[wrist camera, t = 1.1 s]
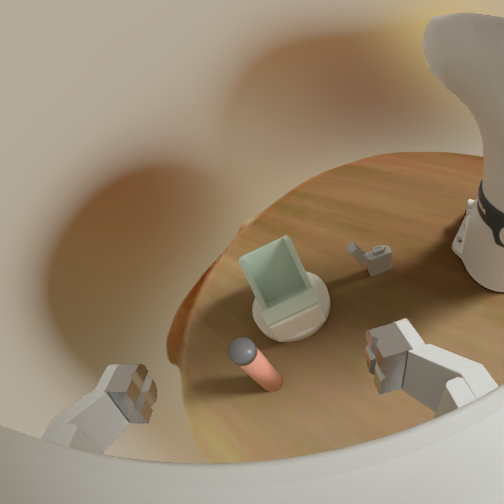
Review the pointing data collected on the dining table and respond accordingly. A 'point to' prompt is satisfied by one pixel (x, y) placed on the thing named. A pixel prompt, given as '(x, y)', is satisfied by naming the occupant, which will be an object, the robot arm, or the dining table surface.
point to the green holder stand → (285, 292)
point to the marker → (254, 364)
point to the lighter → (373, 258)
